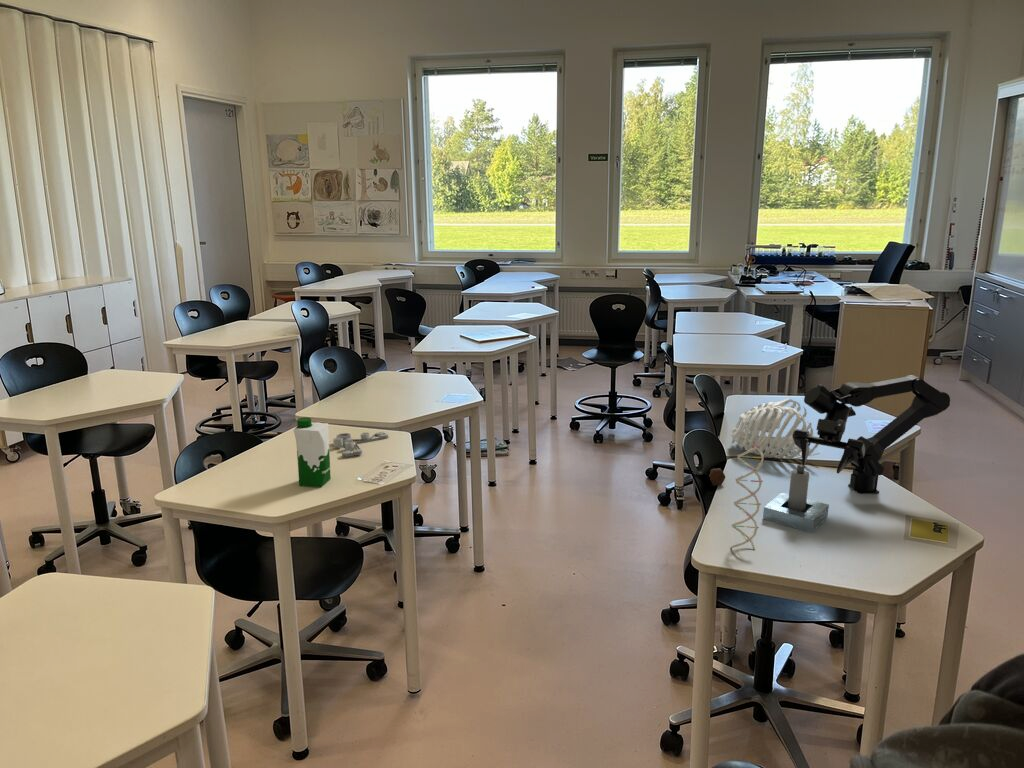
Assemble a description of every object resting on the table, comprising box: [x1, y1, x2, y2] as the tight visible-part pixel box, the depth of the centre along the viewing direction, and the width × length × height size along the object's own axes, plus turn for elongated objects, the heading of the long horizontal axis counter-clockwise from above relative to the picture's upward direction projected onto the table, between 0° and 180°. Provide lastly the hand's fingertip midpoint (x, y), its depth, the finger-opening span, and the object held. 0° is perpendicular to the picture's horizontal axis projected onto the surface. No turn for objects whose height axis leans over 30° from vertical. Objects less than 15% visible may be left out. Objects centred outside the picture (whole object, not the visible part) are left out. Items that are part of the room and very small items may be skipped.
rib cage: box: [730, 398, 820, 460], centre depth 248 cm, size 26×18×28 cm
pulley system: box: [332, 431, 389, 458], centre depth 256 cm, size 27×5×15 cm
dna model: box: [729, 432, 767, 550], centre depth 176 cm, size 7×6×30 cm
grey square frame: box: [762, 492, 830, 534], centre depth 197 cm, size 13×13×4 cm
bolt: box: [709, 467, 726, 486], centre depth 227 cm, size 6×5×15 cm
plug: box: [788, 464, 810, 513], centre depth 196 cm, size 4×4×15 cm
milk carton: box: [293, 417, 331, 488], centre depth 219 cm, size 9×9×20 cm
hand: (820, 469), depth 204 cm, fingers open, 9 cm apart
